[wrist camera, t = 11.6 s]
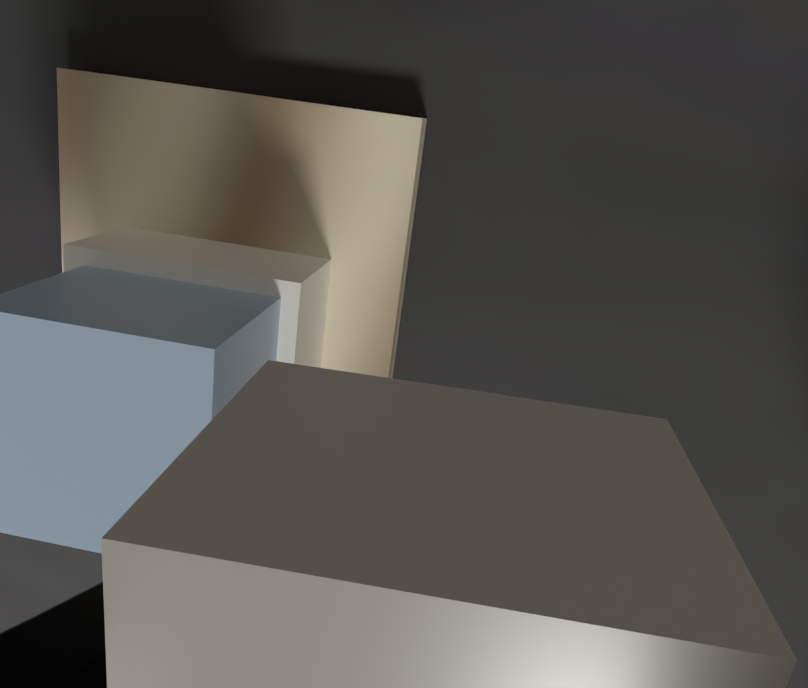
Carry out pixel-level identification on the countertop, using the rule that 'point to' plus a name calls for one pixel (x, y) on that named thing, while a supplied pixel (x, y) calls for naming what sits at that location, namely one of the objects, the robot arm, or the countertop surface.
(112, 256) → the lower brick
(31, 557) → the countertop surface
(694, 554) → the top brick
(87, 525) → the middle brick
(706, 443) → the countertop surface
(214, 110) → the base plate
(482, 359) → the countertop surface
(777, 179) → the countertop surface
